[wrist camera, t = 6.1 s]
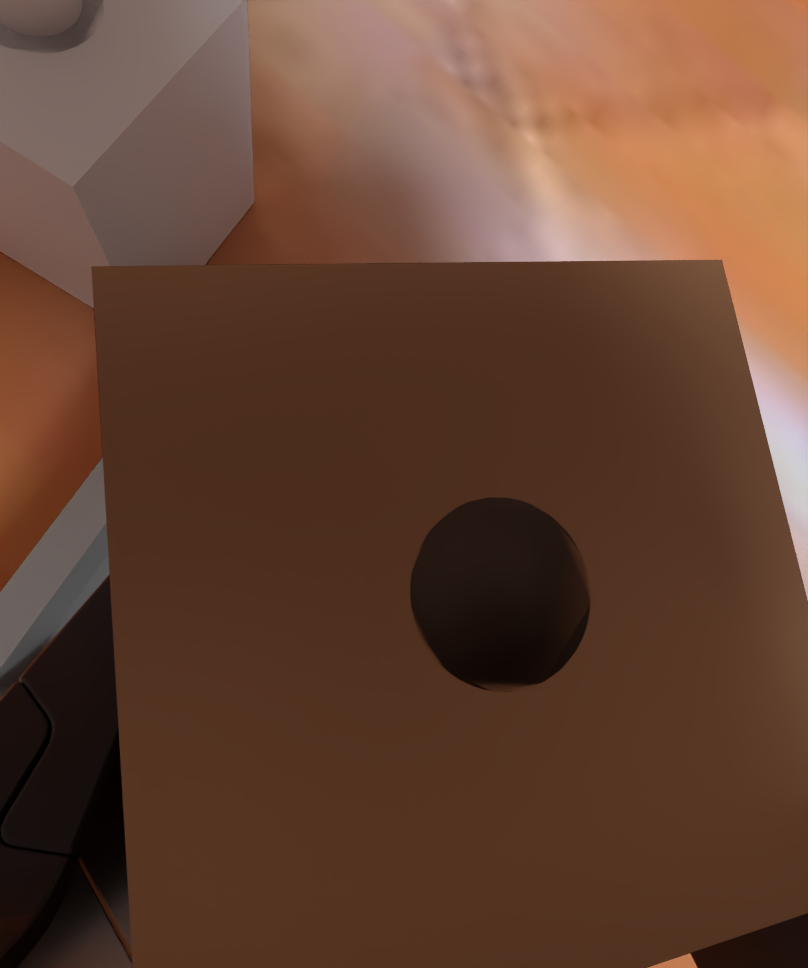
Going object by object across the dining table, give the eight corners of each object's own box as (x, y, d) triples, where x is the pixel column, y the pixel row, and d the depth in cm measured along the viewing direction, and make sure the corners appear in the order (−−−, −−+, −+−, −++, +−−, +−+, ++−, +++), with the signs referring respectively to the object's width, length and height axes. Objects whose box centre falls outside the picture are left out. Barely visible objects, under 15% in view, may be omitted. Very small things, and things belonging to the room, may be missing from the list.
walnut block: (423, 676, 15) (879, 888, 4) (243, 709, 14) (144, 1136, 3) (399, 505, 16) (722, 259, 5) (227, 524, 15) (91, 266, 4)
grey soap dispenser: (145, 340, 18) (-28, -23, 8) (-36, 229, 18) (-495, -331, 7) (254, 201, 20) (237, -258, 9) (92, 96, 19) (-124, -520, 9)
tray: (396, 921, 17) (420, 981, 14) (-31, 693, 15) (-91, 712, 13) (583, 525, 20) (629, 514, 18) (248, 314, 19) (245, 269, 16)
